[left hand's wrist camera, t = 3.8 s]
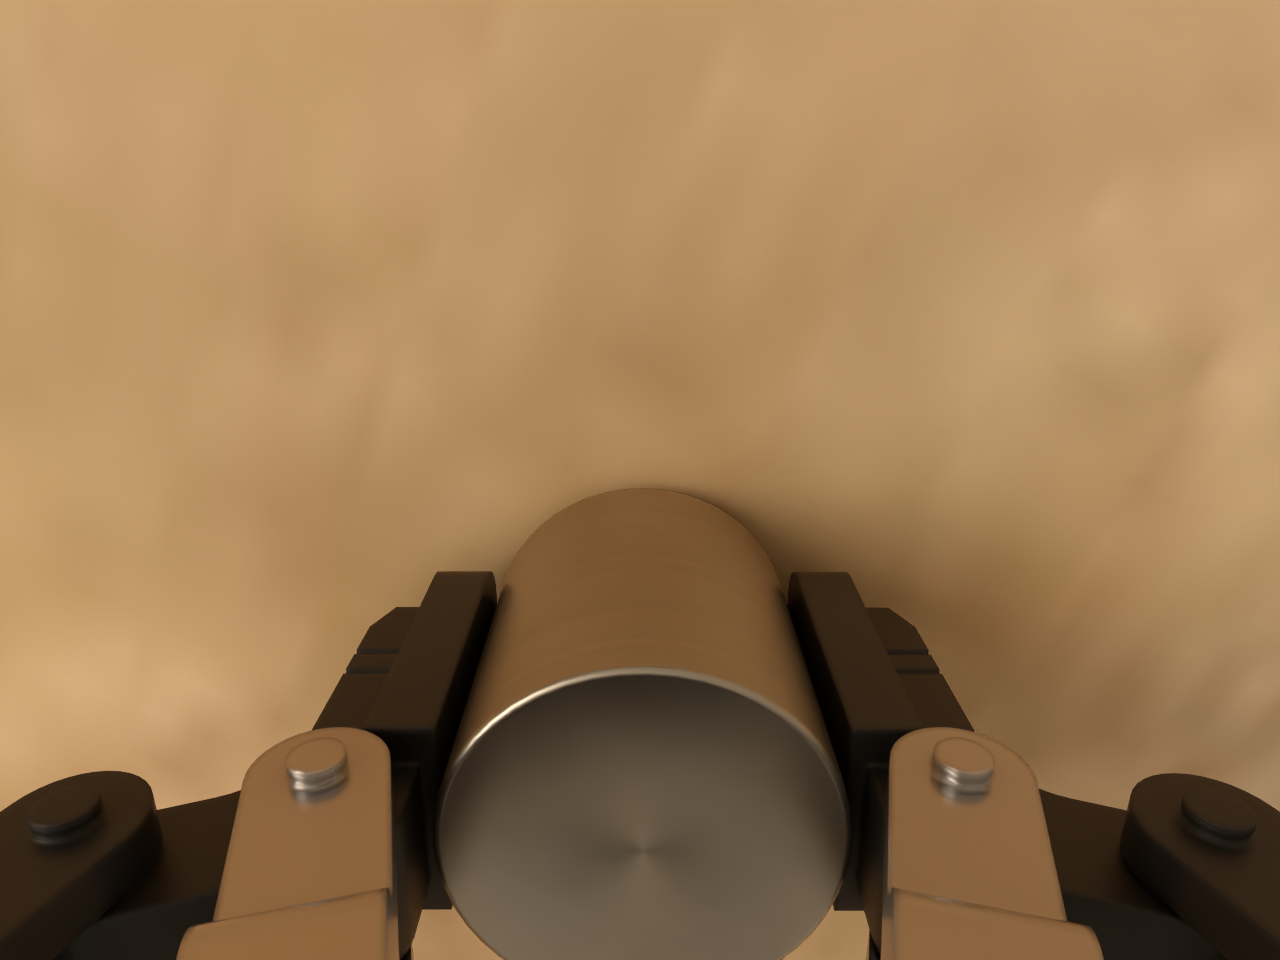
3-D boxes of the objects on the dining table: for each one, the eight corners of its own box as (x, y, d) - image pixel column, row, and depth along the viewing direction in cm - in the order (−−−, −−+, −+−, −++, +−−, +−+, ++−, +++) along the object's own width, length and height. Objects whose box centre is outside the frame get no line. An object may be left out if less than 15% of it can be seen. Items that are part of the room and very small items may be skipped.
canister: (840, 576, 12) (941, 793, 8) (685, 778, 14) (705, 1059, 9) (590, 432, 12) (563, 590, 7) (450, 658, 13) (359, 904, 9)
